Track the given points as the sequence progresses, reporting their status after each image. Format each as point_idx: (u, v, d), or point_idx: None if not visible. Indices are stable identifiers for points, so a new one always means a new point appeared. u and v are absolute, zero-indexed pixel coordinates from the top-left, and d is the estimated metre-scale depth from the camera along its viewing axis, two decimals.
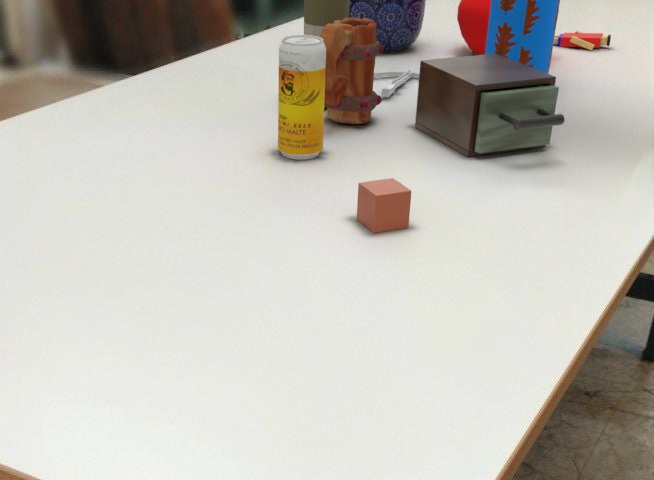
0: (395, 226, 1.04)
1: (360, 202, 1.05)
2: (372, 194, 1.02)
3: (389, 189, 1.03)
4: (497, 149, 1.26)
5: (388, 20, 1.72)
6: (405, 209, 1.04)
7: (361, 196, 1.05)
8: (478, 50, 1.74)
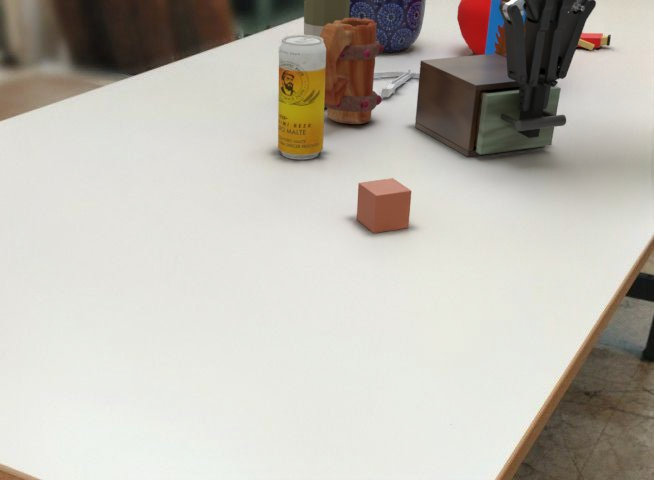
0: (395, 226, 1.04)
1: (360, 202, 1.05)
2: (372, 194, 1.02)
3: (389, 189, 1.03)
4: (499, 150, 1.25)
5: (388, 20, 1.72)
6: (405, 209, 1.04)
7: (361, 196, 1.05)
8: (478, 50, 1.74)
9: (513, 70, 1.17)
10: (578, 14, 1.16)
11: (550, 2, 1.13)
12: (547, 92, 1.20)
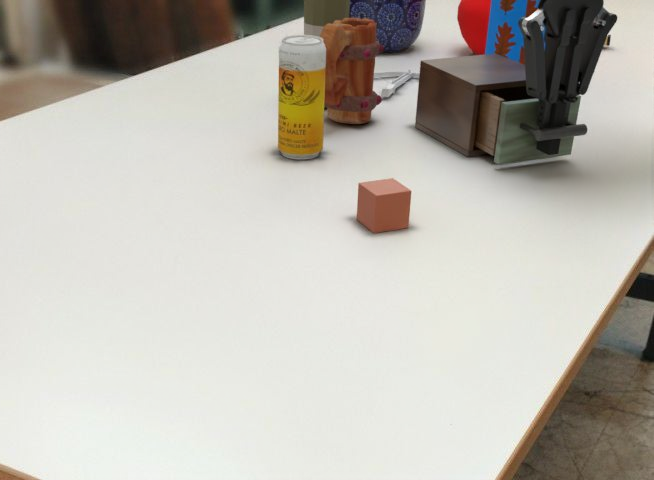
0: (395, 226, 1.04)
1: (360, 202, 1.05)
2: (372, 194, 1.02)
3: (389, 189, 1.03)
4: (517, 160, 1.22)
5: (388, 20, 1.72)
6: (405, 209, 1.04)
7: (361, 196, 1.05)
8: (478, 50, 1.74)
9: (532, 86, 1.15)
10: (599, 29, 1.14)
11: (571, 17, 1.10)
12: (567, 108, 1.18)
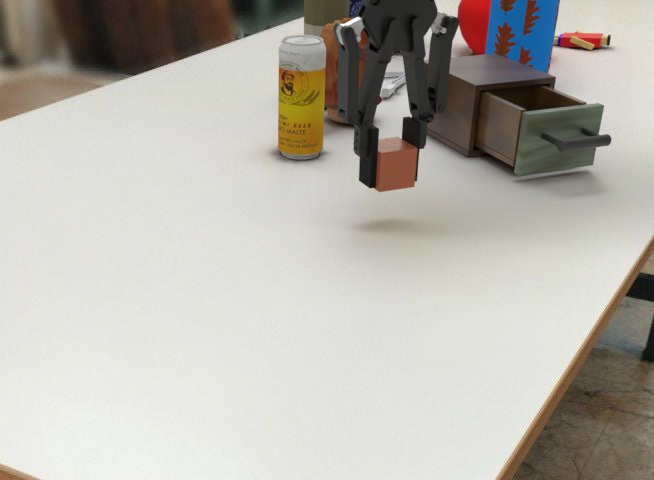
0: (401, 185, 1.02)
1: None
2: (378, 152, 1.00)
3: (395, 146, 1.01)
4: (538, 171, 1.18)
5: None
6: (411, 167, 1.01)
7: None
8: (478, 50, 1.74)
9: (343, 108, 0.97)
10: (440, 37, 0.97)
11: (395, 29, 0.93)
12: (424, 129, 1.01)
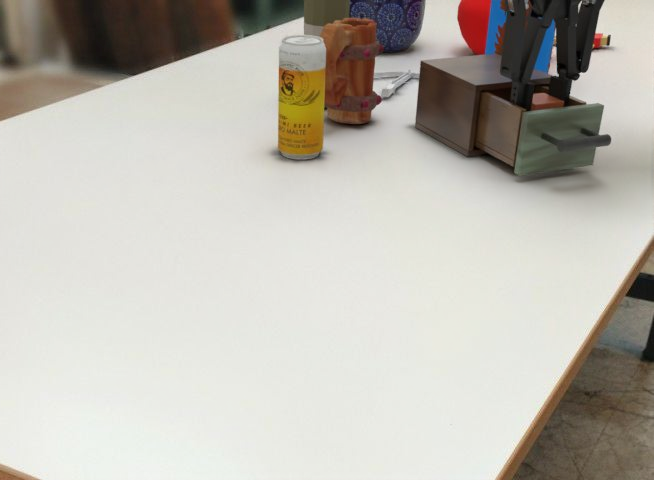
0: None
1: None
2: None
3: (545, 100, 1.19)
4: (538, 171, 1.18)
5: (388, 20, 1.72)
6: None
7: None
8: (478, 50, 1.74)
9: (507, 65, 1.15)
10: (590, 7, 1.15)
11: None
12: (568, 86, 1.20)
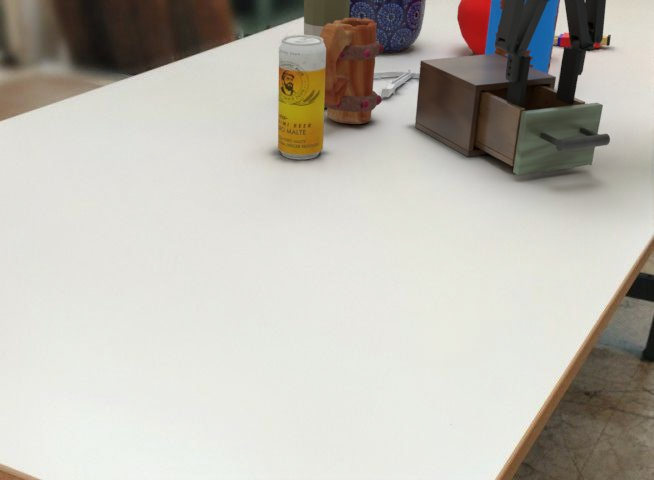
0: None
1: None
2: None
3: None
4: (537, 170, 1.18)
5: (388, 20, 1.72)
6: None
7: None
8: (478, 50, 1.74)
9: (503, 36, 1.13)
10: None
11: None
12: (582, 57, 1.18)
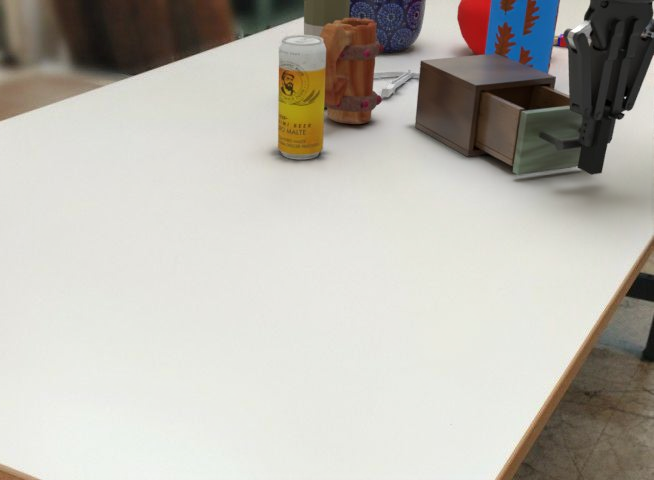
0: None
1: None
2: None
3: None
4: (537, 170, 1.19)
5: (388, 20, 1.72)
6: None
7: None
8: (478, 50, 1.74)
9: (577, 102, 1.08)
10: (647, 41, 1.07)
11: (620, 29, 1.03)
12: (612, 125, 1.11)
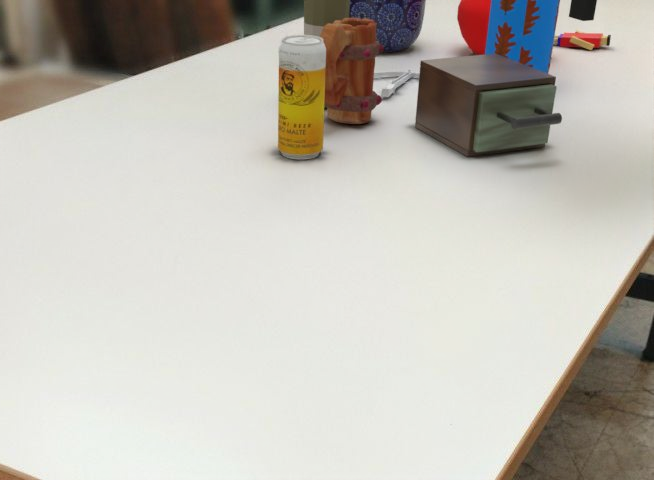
0: None
1: None
2: None
3: None
4: (495, 148, 1.26)
5: (388, 20, 1.72)
6: None
7: None
8: (478, 50, 1.74)
9: None
10: None
11: None
12: None
